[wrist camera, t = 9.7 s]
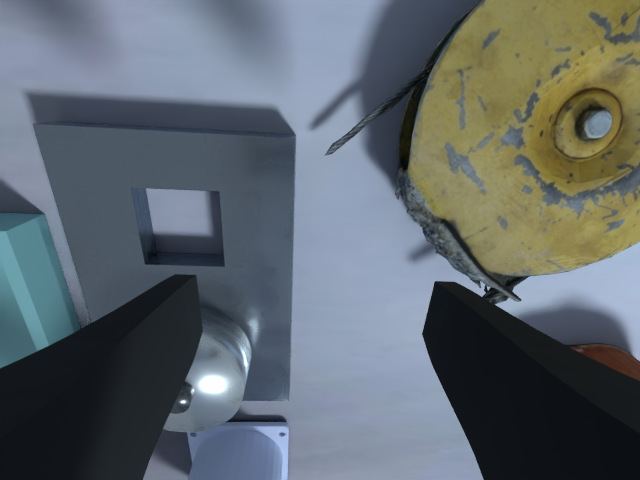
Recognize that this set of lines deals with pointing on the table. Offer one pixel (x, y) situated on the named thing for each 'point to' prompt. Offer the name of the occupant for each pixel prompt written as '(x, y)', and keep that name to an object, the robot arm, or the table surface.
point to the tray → (31, 289)
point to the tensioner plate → (211, 269)
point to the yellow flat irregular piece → (525, 139)
